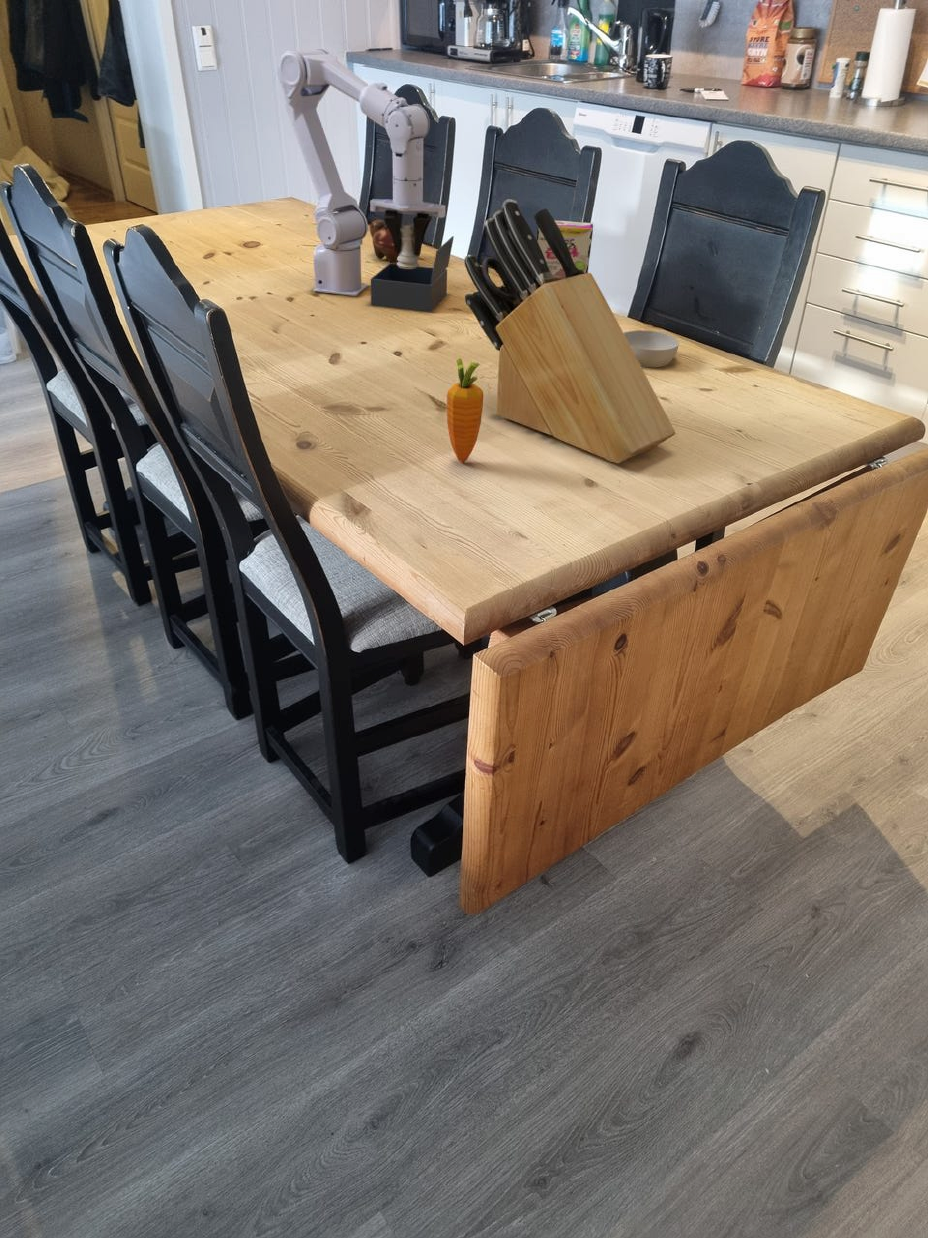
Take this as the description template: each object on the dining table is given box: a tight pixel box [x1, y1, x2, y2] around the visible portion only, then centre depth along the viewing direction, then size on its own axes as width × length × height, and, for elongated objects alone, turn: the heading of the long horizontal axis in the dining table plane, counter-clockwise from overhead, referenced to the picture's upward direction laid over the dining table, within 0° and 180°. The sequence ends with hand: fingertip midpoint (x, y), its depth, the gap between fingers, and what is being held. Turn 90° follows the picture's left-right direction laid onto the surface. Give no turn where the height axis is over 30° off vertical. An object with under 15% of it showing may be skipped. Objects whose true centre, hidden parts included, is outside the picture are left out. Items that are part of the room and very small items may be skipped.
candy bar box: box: [535, 219, 594, 279], centre depth 189 cm, size 11×5×16 cm, turn 84°
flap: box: [431, 235, 455, 282], centre depth 187 cm, size 6×12×1 cm
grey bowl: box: [623, 329, 680, 368], centre depth 169 cm, size 11×18×4 cm, turn 65°
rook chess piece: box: [396, 222, 420, 269], centre depth 183 cm, size 4×4×8 cm
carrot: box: [446, 357, 484, 464], centre depth 127 cm, size 5×5×15 cm
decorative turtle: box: [369, 219, 421, 264], centre depth 216 cm, size 10×15×8 cm, turn 54°
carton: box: [370, 262, 448, 313], centre depth 192 cm, size 13×13×5 cm
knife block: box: [463, 198, 676, 464], centre depth 135 cm, size 11×35×31 cm, turn 45°
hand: (407, 252), depth 184 cm, fingers closed on rook chess piece, 3 cm apart
